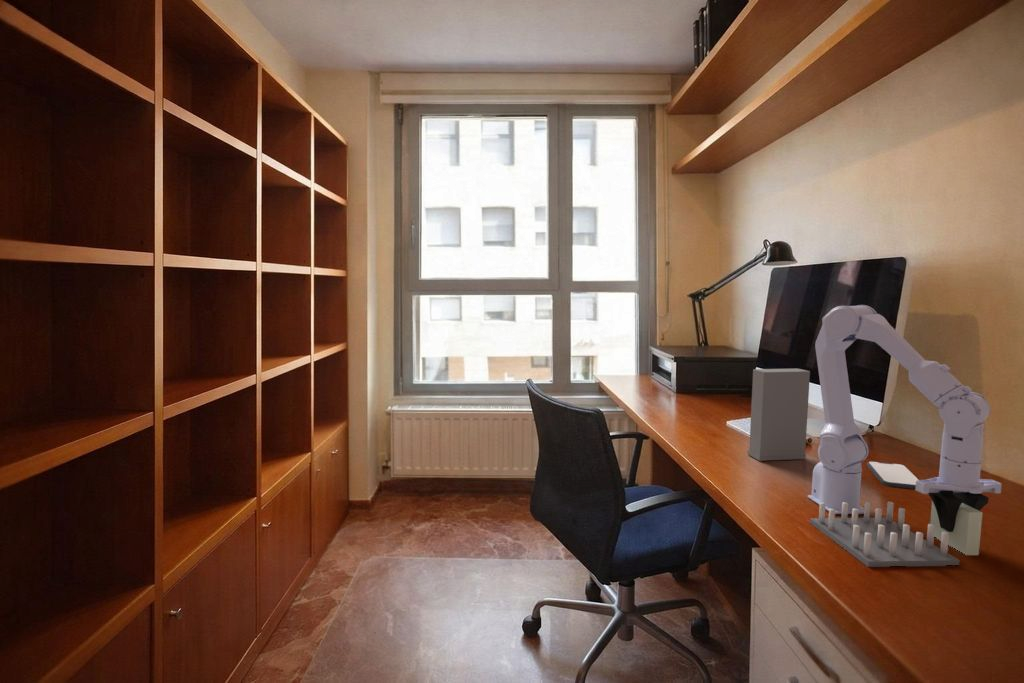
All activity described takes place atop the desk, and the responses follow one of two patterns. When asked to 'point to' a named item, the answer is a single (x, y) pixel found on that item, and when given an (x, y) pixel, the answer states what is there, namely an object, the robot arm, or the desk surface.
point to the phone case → (893, 474)
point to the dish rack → (883, 538)
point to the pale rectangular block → (961, 529)
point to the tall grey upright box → (779, 414)
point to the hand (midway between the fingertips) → (954, 529)
